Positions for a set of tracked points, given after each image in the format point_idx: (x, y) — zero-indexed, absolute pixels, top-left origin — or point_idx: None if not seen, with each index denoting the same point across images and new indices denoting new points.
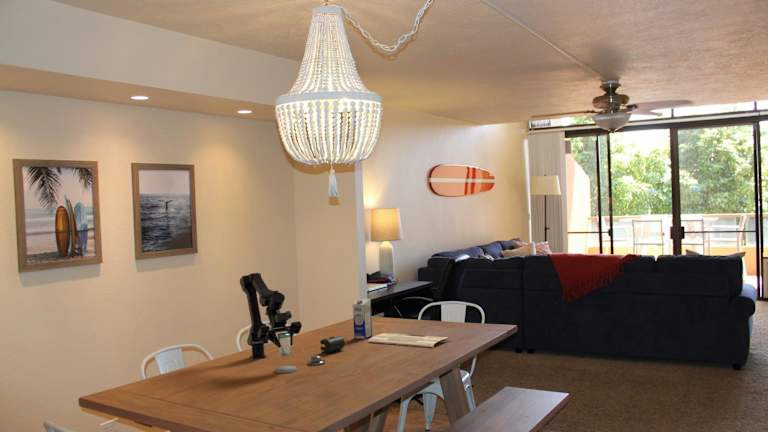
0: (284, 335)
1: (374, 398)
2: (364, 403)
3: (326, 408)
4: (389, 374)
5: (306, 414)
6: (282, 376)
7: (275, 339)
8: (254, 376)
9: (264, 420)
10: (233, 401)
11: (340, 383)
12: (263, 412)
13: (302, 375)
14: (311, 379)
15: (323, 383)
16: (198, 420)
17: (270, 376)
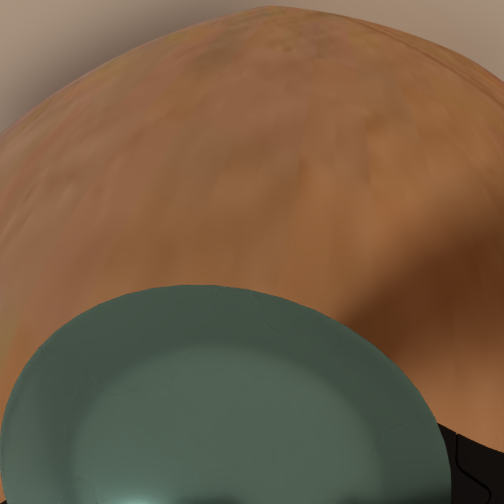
0: (226, 295)
1: (150, 44)
2: (180, 32)
3: (248, 25)
4: (8, 159)
5: (288, 19)
6: (311, 291)
7: (455, 433)
8: (462, 363)
9: (357, 24)
10: (450, 96)
11: (134, 112)
12: (364, 37)
13: (196, 257)
14: (187, 174)
15: (174, 121)
16: (465, 62)
17: (381, 325)
